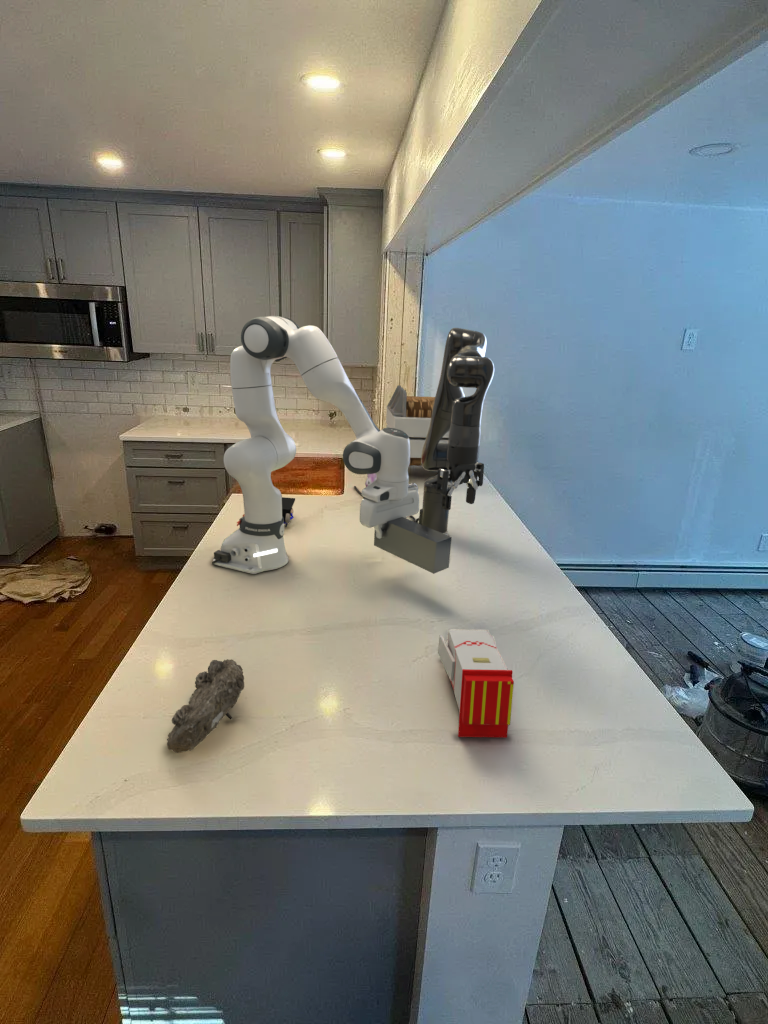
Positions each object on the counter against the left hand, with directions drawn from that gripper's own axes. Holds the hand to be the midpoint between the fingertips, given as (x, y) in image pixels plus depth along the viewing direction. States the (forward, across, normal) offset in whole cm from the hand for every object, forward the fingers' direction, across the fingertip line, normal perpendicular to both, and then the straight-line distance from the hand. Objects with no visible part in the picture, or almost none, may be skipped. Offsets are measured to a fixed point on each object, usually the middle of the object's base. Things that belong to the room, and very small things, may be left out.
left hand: (389, 534), depth 160 cm
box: (+4, 0, +8) cm, 9 cm away
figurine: (+15, -42, -51) cm, 68 cm away
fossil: (+15, +66, +21) cm, 70 cm away
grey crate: (+15, -92, -73) cm, 119 cm away
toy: (+14, +22, +48) cm, 55 cm away
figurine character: (+15, -3, -57) cm, 59 cm away
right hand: (-15, -1, +22) cm, 27 cm away
